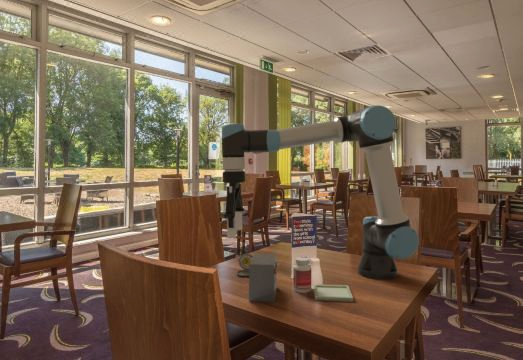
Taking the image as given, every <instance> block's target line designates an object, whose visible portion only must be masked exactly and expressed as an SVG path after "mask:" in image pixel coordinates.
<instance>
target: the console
mask: <svg viewBox="0 0 523 360" xmlns="http://www.w3.org/2000/svg"><path fill="white" fill-rule="evenodd" d="M252 256H253V257H252V259H250V262H249V276H248V301H249V302H251V303H252V302H253V303H257V302H258V303H275V299H276V293H277V287H278V286H277V284H278V282H277V281H278V277H277V275H278V268H279V262H278V254H277V253H253V255H252Z"/></svg>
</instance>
